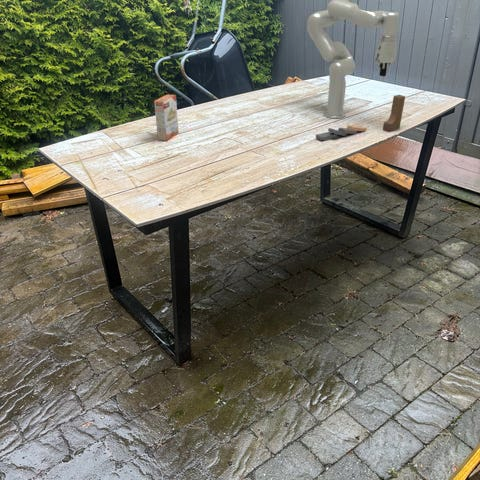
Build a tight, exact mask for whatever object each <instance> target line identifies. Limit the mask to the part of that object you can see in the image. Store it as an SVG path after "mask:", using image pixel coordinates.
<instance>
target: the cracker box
mask: <svg viewBox="0 0 480 480" xmlns="http://www.w3.org/2000/svg"><path fill="white" fill-rule="evenodd" d="M153 105H154V115H155V123H156V124H155V125H156V133H157V140H158V141H162V142H164V141H165V142H168V141H169V140H171V139H172V138H173V137H175V136H177V135H178V134H179V120H178V119H179V118H178V107H177V95H176V94H165V95H163V96H161V97H159V98H158V99H156V100H154V101H153Z"/></svg>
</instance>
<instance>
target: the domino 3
mask: <svg viewBox="0 0 480 480" xmlns="http://www.w3.org/2000/svg"><path fill="white" fill-rule="evenodd" d="M338 138H340V135H339V134H337V137H334V138H330V139H325V140H324V141H326V142H327V141H329V140H333V139H338Z"/></svg>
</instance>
